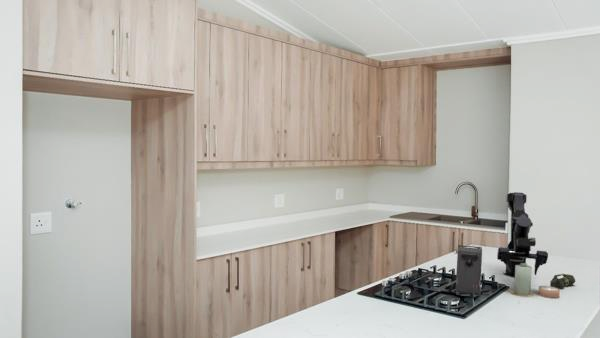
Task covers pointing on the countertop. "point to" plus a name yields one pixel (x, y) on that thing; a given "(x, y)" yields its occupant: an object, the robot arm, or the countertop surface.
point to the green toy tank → (562, 281)
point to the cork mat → (519, 295)
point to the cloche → (522, 279)
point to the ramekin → (549, 292)
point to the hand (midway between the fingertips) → (523, 273)
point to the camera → (468, 270)
